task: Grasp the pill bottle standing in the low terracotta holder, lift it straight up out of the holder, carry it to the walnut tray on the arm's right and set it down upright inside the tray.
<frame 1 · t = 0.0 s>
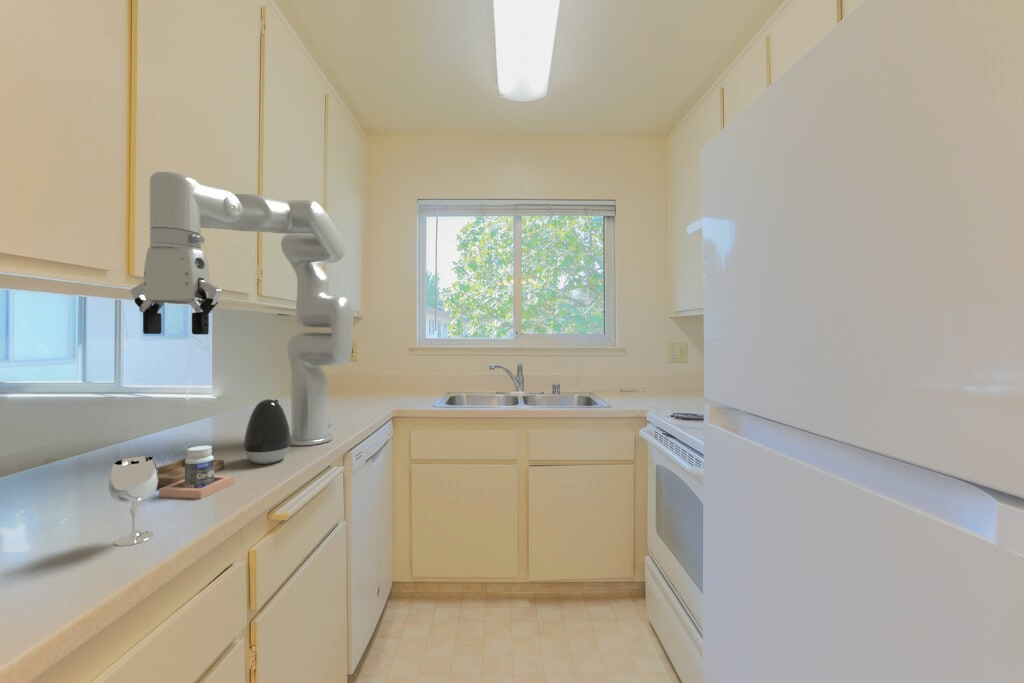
hand: (176, 334, 81), 31 cm above the worktop, fingers open, 9 cm apart
pump dispenser: (268, 461, 107), on the worktop
wineglass: (134, 539, 66), on the worktop
tray: (179, 477, 94), on the worktop
pill bottle: (199, 490, 87), resting in holder
holder: (198, 489, 87), on the worktop
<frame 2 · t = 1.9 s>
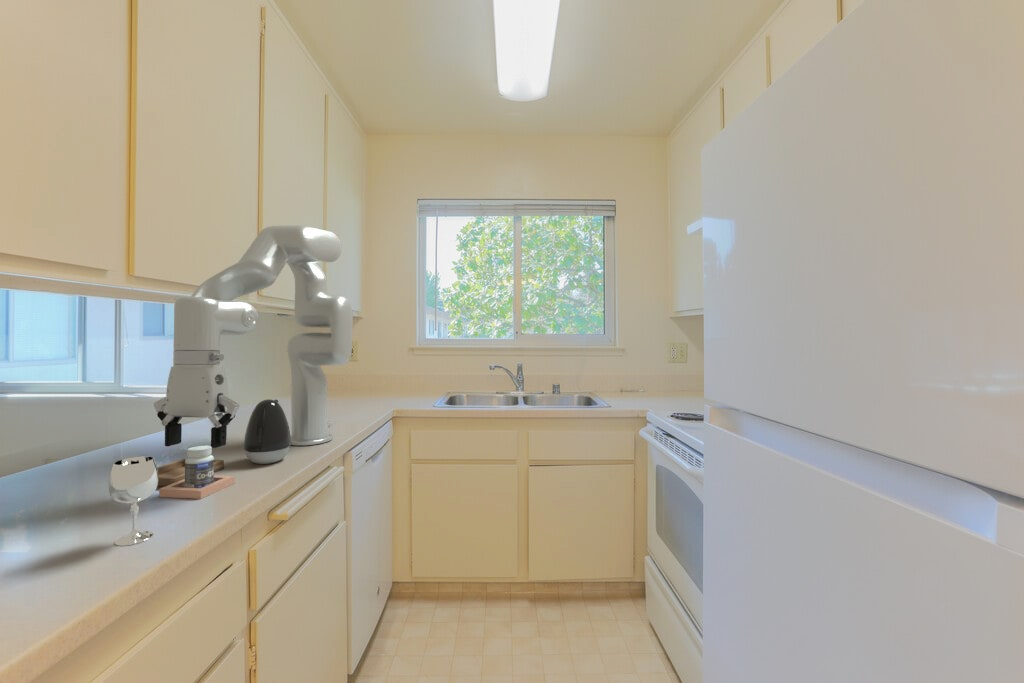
hand: (195, 445, 86), 9 cm above the worktop, fingers open, 9 cm apart
nothing on the worktop moved.
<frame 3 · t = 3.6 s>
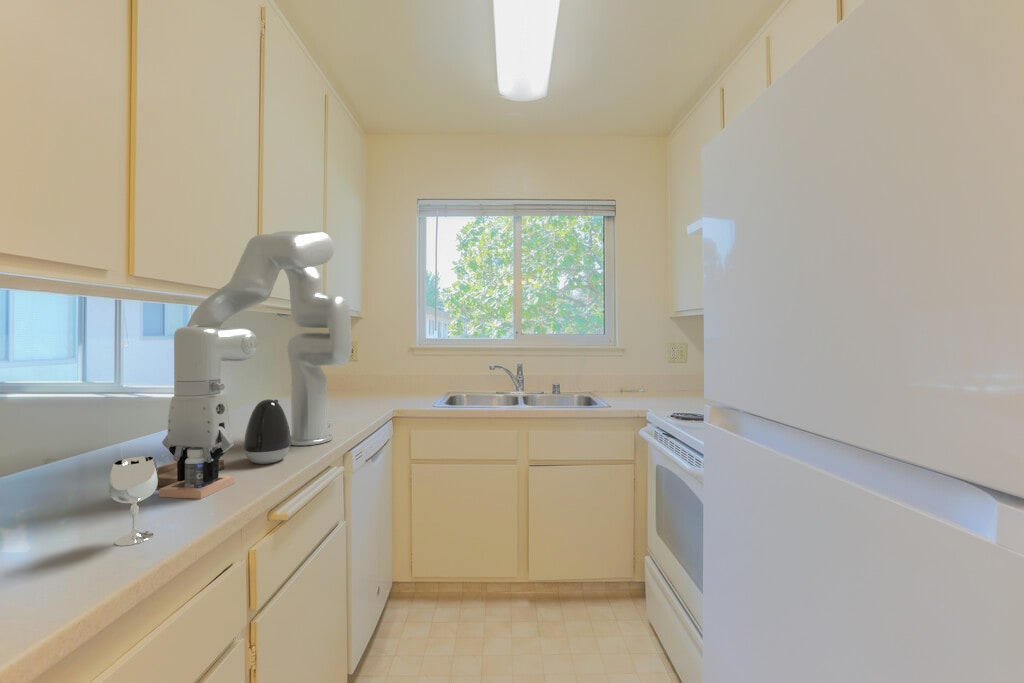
hand: (198, 478, 87), 2 cm above the worktop, fingers closed on pill bottle, 4 cm apart
pill bottle: (199, 490, 87), resting in holder, touching gripper
everything else where it was.
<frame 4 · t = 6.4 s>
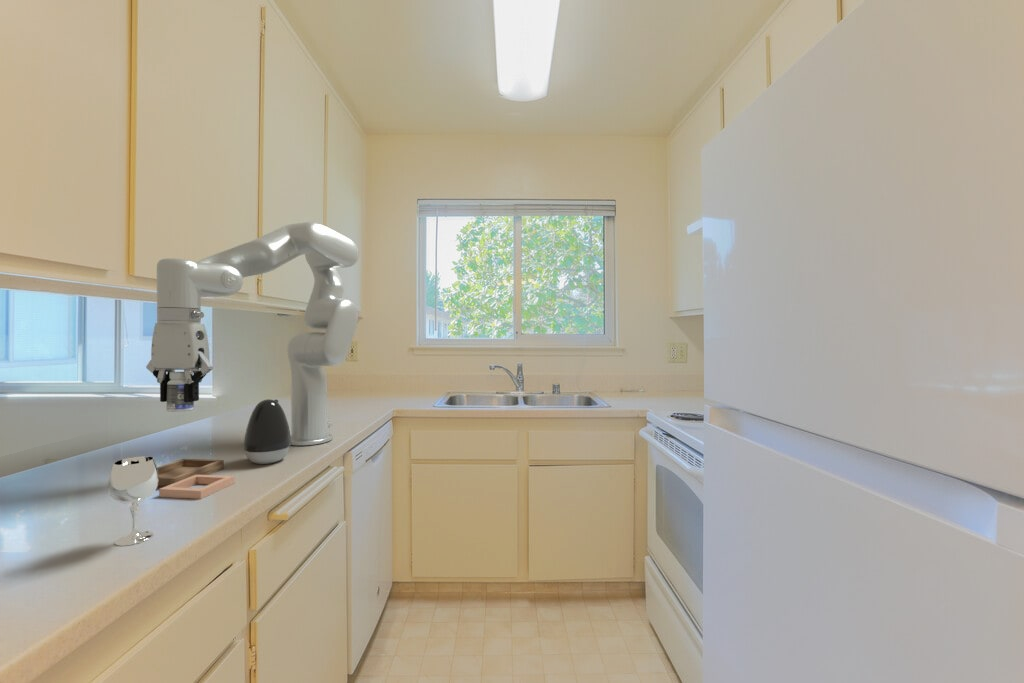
hand: (179, 400, 94), 17 cm above the worktop, fingers closed on pill bottle, 4 cm apart
pill bottle: (180, 411, 94), point 14 cm above the worktop, touching gripper
everything else where it was.
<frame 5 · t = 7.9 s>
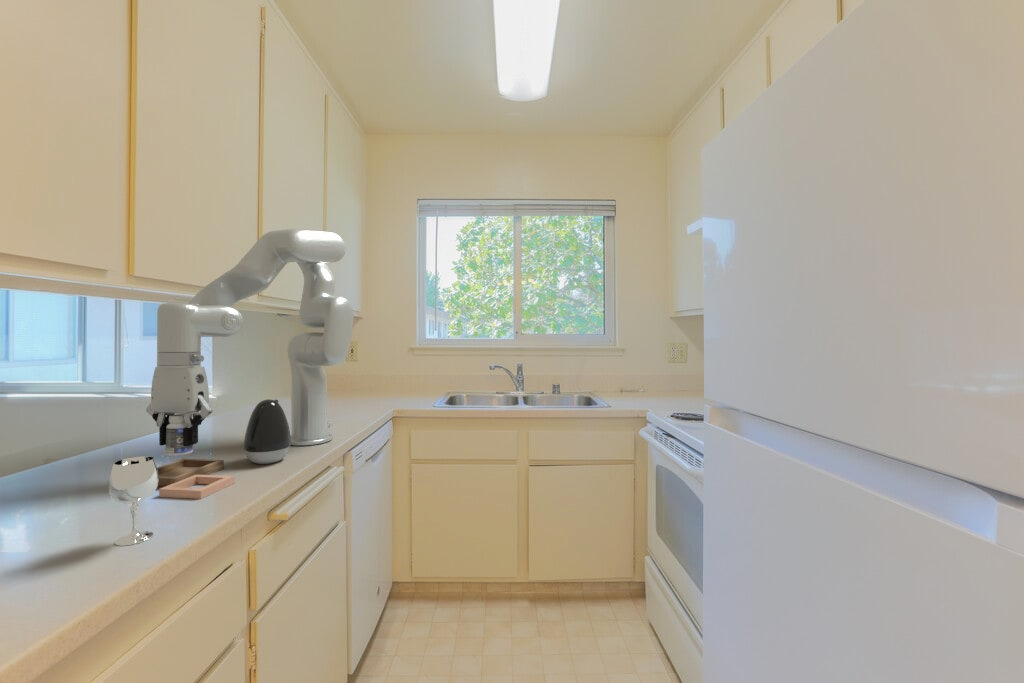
hand: (178, 443, 94), 7 cm above the worktop, fingers closed on pill bottle, 4 cm apart
pill bottle: (179, 454, 94), point 5 cm above the worktop, touching gripper
everything else where it was.
when the fingers open (4 cm above the worktop, at t = 9.3 s): pill bottle drops 1 cm, resting on tray.
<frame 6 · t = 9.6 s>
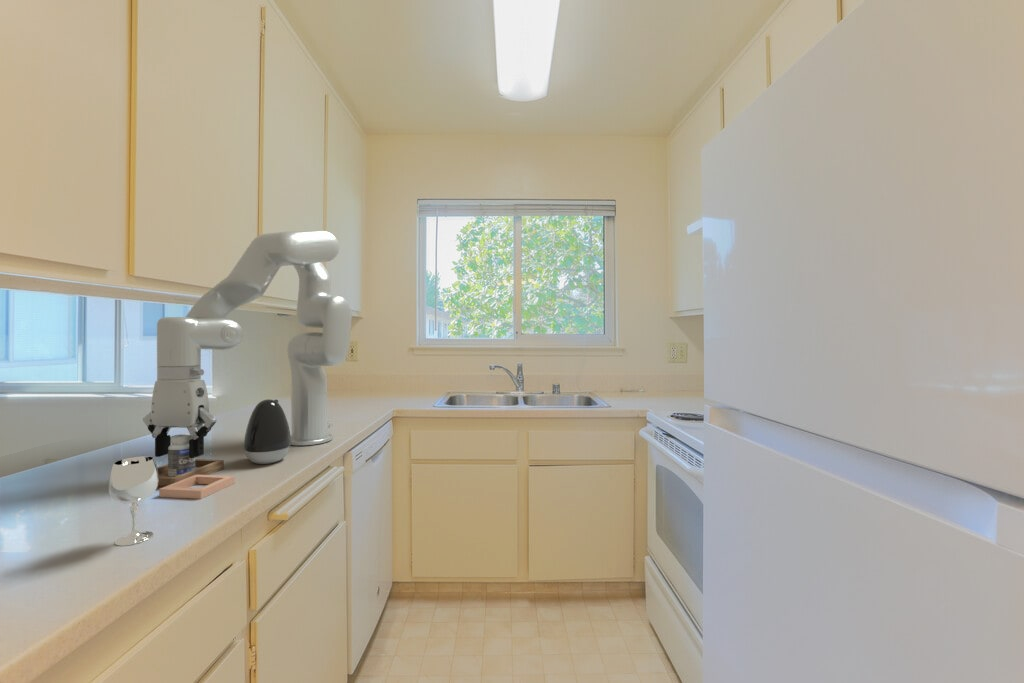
hand: (179, 455, 94), 5 cm above the worktop, fingers open, 7 cm apart
pill bottle: (182, 474, 94), resting on tray
everything else where it was.
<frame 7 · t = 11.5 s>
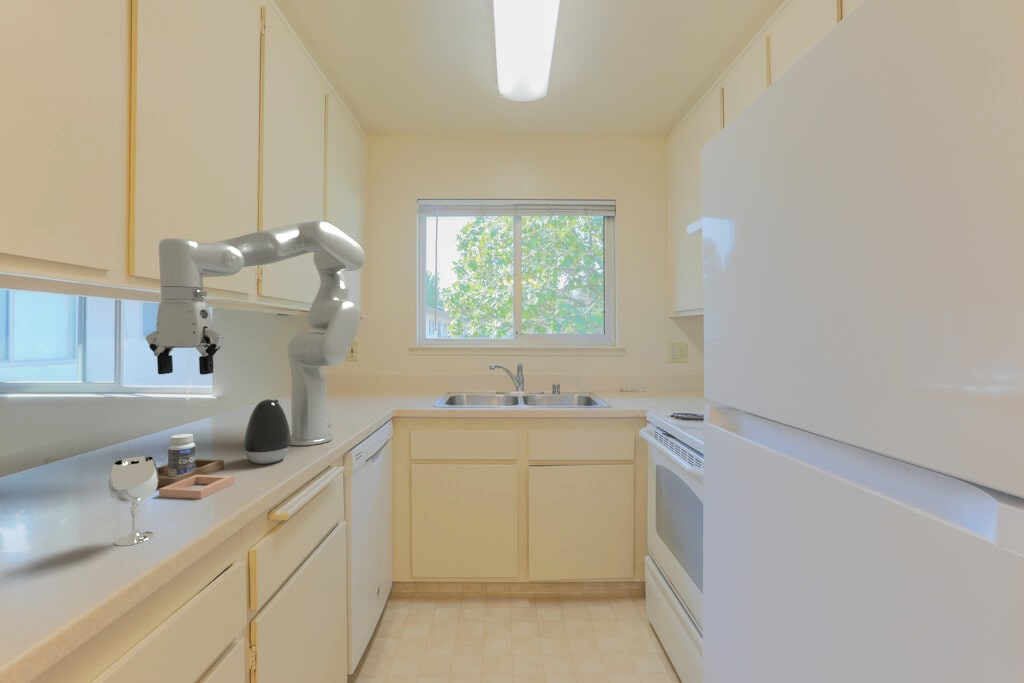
hand: (186, 373, 96), 22 cm above the worktop, fingers open, 9 cm apart
nothing on the worktop moved.
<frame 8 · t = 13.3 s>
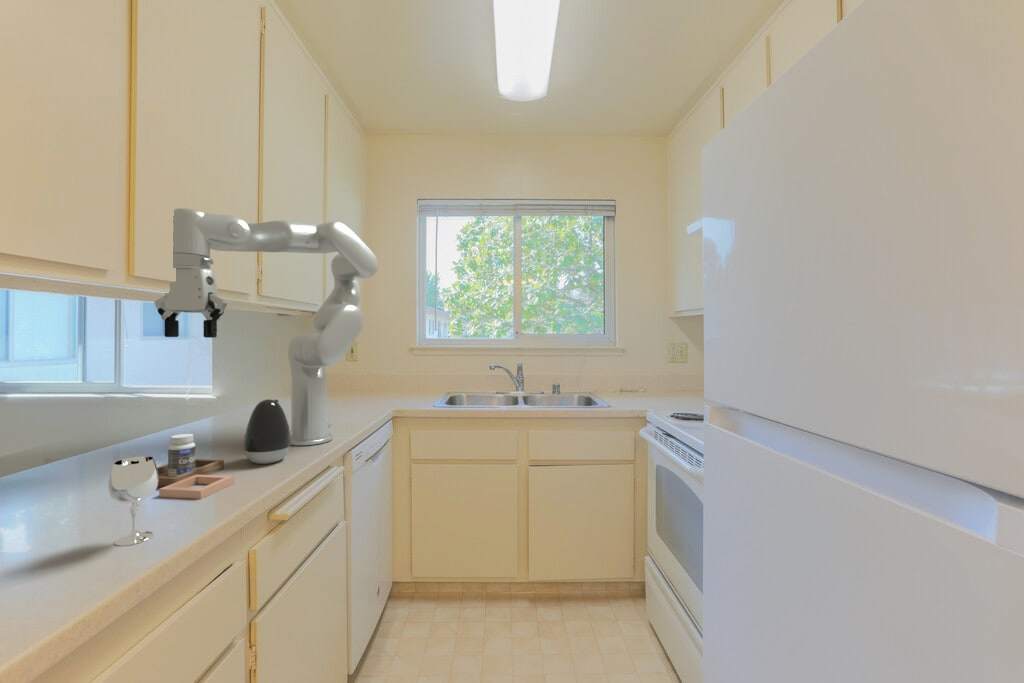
hand: (190, 337, 101), 30 cm above the worktop, fingers open, 9 cm apart
nothing on the worktop moved.
at the end: pill bottle inside the target area on the tray (0.4 cm from its centre), point 0.4 cm above the tray's base; pill bottle tilted 0°; the gripper is holding nothing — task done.
